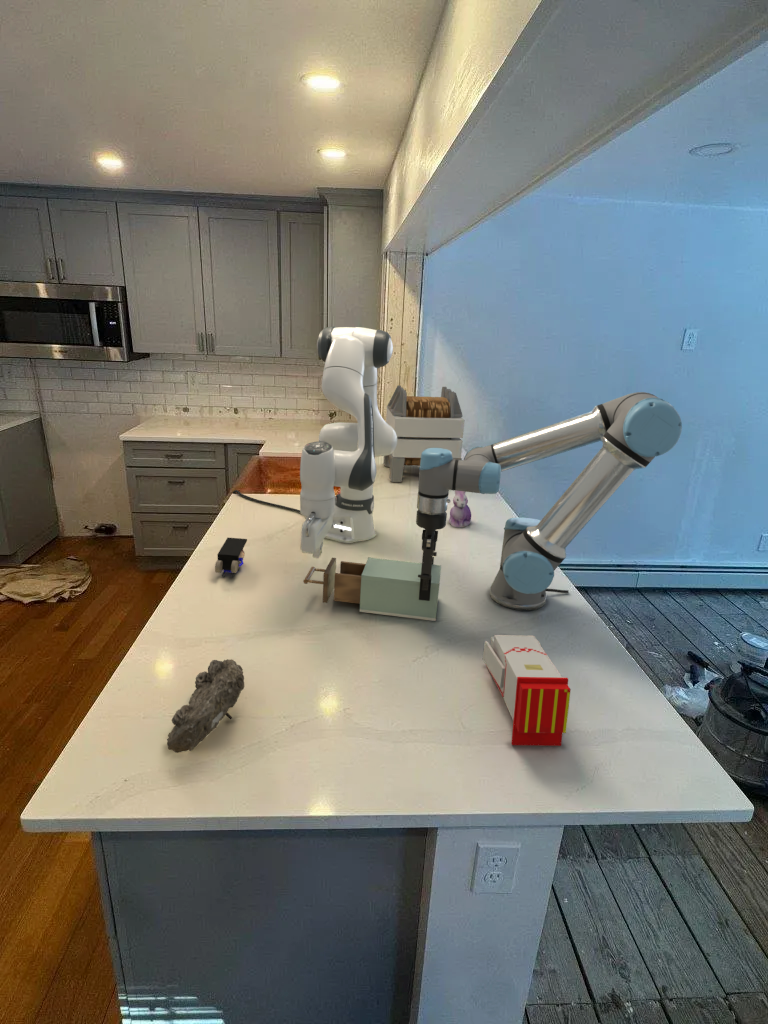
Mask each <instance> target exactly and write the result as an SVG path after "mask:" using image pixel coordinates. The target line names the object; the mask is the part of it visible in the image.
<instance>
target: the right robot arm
mask: <svg viewBox="0 0 768 1024" xmlns="http://www.w3.org/2000/svg"><path fill="white" fill-rule="evenodd" d="M682 425H683V424H682V417H681V416H680V414H679V412H678V411H677V409H676V408H675V406H673V405H672V404H671V403H670V402H669V401H667V400H665V399H663V398H660V397H658V396H656V395H654V394H652V393H650V392H645V391H636V392H631V393H628V394H625V395H623V396H620V397H617V398H614V399H611V400H608V401H606V402H604V403H603V402H602V403H600V404H597V405H595V406H593V409H592V410H591V411H589V412H586V413H583V414H580V415H577V416H574V417H571V418H568V419H564V420H562V421H559V422H556V423H553V424H549V425H547V426H543V427H540V428H539V429H534V430H531V431H528V432H525V433H522V434H519V435H517V436H516V435H515V436H514V437H513V436H512V437H510V438H507V439H504V440H501V441H498V442H494V443H492V444H489V445H485V446H481V445H478V446H473V447H471V448H469V450H468V451H467V452H466V453H465V455H464V458H463V459H462V460H456V459H452V458H453V457H452V452H451V451H449V450H447V449H442V448H428V449H425V450H424V451H423V452H422V454H421V462H420V466H419V473H418V490H417V499H416V501H417V502H416V509H417V510H416V515H415V516H416V517H415V524H416V526H418V527H419V528H421V529H422V533H421V541H422V542H421V550H422V556H421V557H422V560H421V563H422V568H421V575H418V577H420V591H419V600H425V601H430V590H431V577H432V575H431V570H432V564H433V565H434V563H435V562H434V561H435V557H437V555H438V554H437V551H436V548H437V547H436V546H437V542H438V537H439V530H442V529H444V528H445V527H446V525H447V518H448V516H447V515H448V513H447V511H448V504H450V503H451V499H450V498H449V494H450V491H455V490H456V491H465V493H474V494H475V493H476V494H481V495H485V494H486V495H496V494H498V493H499V491H500V484H501V475H502V472H505V471H508V470H511V469H514V468H517V467H520V466H524V465H527V464H531V463H534V462H537V461H540V460H544V459H546V458H550V457H553V456H556V455H559V454H563V453H566V452H570V451H573V450H576V449H579V448H582V447H586V446H588V445H589V446H590V445H592V444H595V443H600V442H602V447H601V448H600V449H599V450H598V451H597V453H596V454H595V455H594V456H593V457H592V459H591V460H590V461H589V462H588V463H587V464H586V466H585V467H584V468H583V469H582V471H581V472H580V473H579V474H578V476H577V477H576V478H575V479H574V480H573V481H572V483H571V484H570V485H569V486H568V488H567V489H566V490H565V491H564V492H563V494H562V495H561V496H559V498H558V499H557V500H556V502H555V503H554V504H553V506H552V507H551V508H550V509H549V510H548V511H547V513H546V514H545V515H544V516H543V517H542V518H541V520H540V519H536V518H531V517H522V516H521V517H511V518H508V519H507V520H506V521H505V525H504V528H503V532H504V533H503V539H502V547H501V555H500V561H499V562H500V563H499V569H498V571H497V573H496V575H495V577H494V579H493V581H492V583H491V586H490V589H489V595H490V598H491V599H492V600H493V601H494V602H495V603H496V604H498V605H500V606H503V607H504V608H508V609H511V610H516V611H534V610H538V609H541V608H542V607H544V606H545V604H546V602H547V592H550V593H560V594H569V590H567V589H566V590H565V589H556V588H549V587H550V585H551V584H552V583H553V580H554V578H555V571H556V570H557V568H558V567H559V566H560V565H561V564H562V563H563V561H564V560H565V559H567V547H568V546H569V545H570V544H571V542H572V541H573V540H574V539H575V538H576V537H577V536H578V534H579V533H581V531H582V530H583V529H584V528H585V526H586V525H587V524H588V523H589V522H590V521H591V519H593V518H594V516H595V515H596V514H597V513H598V512H599V511H600V509H602V507H604V505H605V504H606V503H607V502H608V500H609V499H610V498H611V497H612V496H613V494H615V492H616V491H617V490H618V489H619V488H620V487H621V486H622V484H623V483H624V482H625V481H626V480H627V479H628V477H630V475H632V473H633V472H634V471H635V470H640V469H646V468H647V466H648V465H649V464H651V462H652V461H653V460H654V459H655V458H656V457H659V456H662V455H665V454H667V453H668V452H669V451H671V450H672V449H673V448H674V447H675V446H676V444H677V443H678V442H679V440H680V438H681V435H682V430H683V426H682Z"/></svg>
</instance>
